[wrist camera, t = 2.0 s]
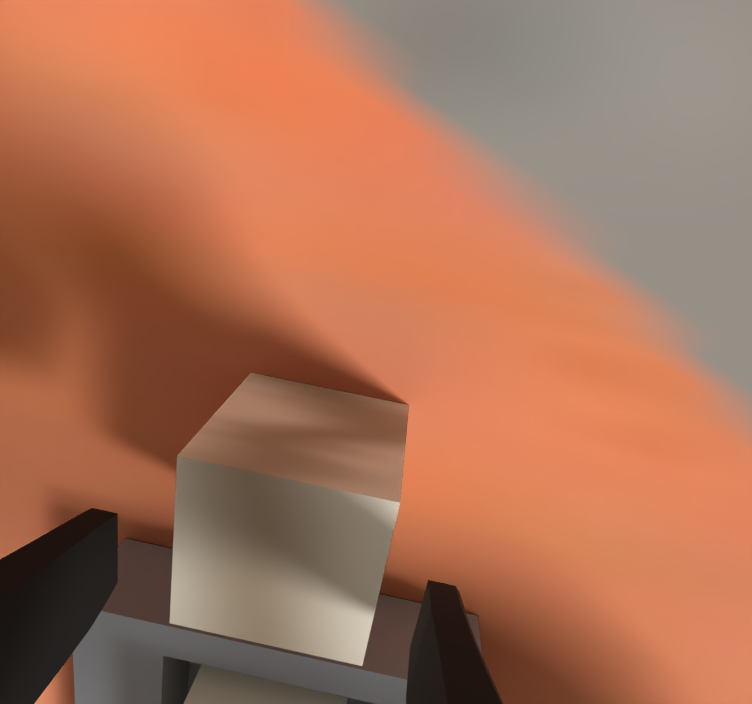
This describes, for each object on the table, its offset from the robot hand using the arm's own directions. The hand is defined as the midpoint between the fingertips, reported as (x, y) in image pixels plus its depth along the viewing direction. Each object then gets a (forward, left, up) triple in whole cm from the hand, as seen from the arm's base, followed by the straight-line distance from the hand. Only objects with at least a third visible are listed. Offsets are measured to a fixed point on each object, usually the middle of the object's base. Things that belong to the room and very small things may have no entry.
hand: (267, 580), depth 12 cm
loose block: (0, 0, -6) cm, 6 cm away
